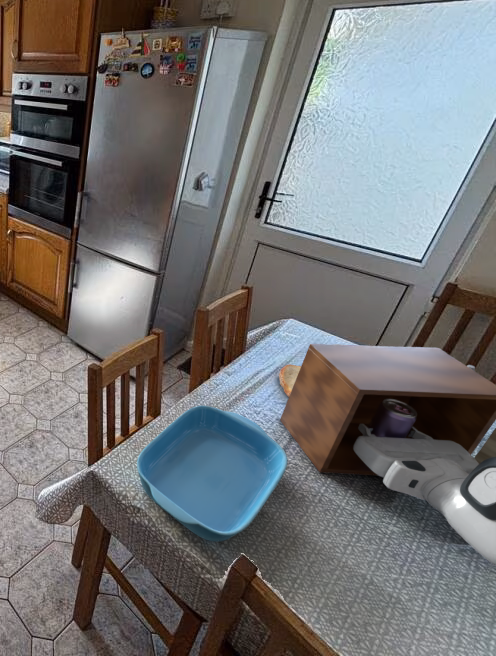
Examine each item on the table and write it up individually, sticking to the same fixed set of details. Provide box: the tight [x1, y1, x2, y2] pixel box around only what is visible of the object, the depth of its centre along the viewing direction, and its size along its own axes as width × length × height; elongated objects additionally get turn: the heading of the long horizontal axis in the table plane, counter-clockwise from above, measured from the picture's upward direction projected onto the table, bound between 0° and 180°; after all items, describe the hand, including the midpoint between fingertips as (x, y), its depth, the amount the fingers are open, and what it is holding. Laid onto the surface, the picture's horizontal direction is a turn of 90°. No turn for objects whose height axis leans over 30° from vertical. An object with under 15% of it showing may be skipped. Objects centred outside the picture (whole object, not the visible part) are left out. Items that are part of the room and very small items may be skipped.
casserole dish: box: [136, 405, 289, 542], centre depth 91 cm, size 37×22×7 cm, turn 128°
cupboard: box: [279, 343, 496, 477], centre depth 95 cm, size 16×28×24 cm, turn 85°
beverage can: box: [369, 399, 417, 438], centre depth 93 cm, size 6×6×15 cm
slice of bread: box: [278, 363, 302, 398], centre depth 117 cm, size 18×18×4 cm
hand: (384, 426), depth 94 cm, fingers open, 8 cm apart
